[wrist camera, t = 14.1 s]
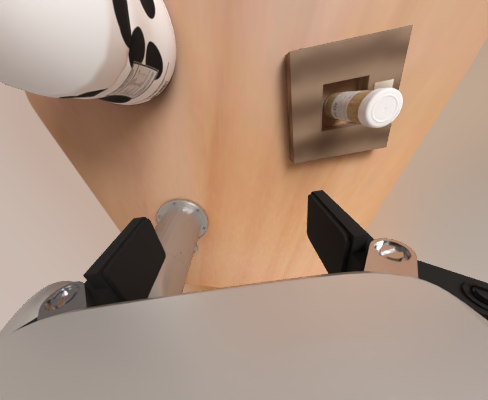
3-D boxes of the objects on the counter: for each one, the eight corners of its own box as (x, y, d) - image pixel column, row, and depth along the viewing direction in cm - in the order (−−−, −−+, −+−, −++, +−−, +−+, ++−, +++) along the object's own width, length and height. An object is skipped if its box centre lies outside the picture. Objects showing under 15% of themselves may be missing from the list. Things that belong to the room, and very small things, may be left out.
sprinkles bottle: (342, 118, 35) (394, 129, 24) (320, 117, 35) (360, 128, 23) (350, 91, 33) (411, 88, 21) (326, 90, 33) (374, 86, 21)
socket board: (375, 143, 38) (386, 147, 35) (290, 159, 39) (294, 163, 36) (397, 31, 29) (413, 24, 26) (285, 55, 30) (290, 51, 27)
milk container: (52, -64, 23) (-323, -387, 8) (187, -14, 26) (109, -181, 10) (78, 88, 32) (-79, 79, 16) (178, 115, 34) (127, 130, 19)
